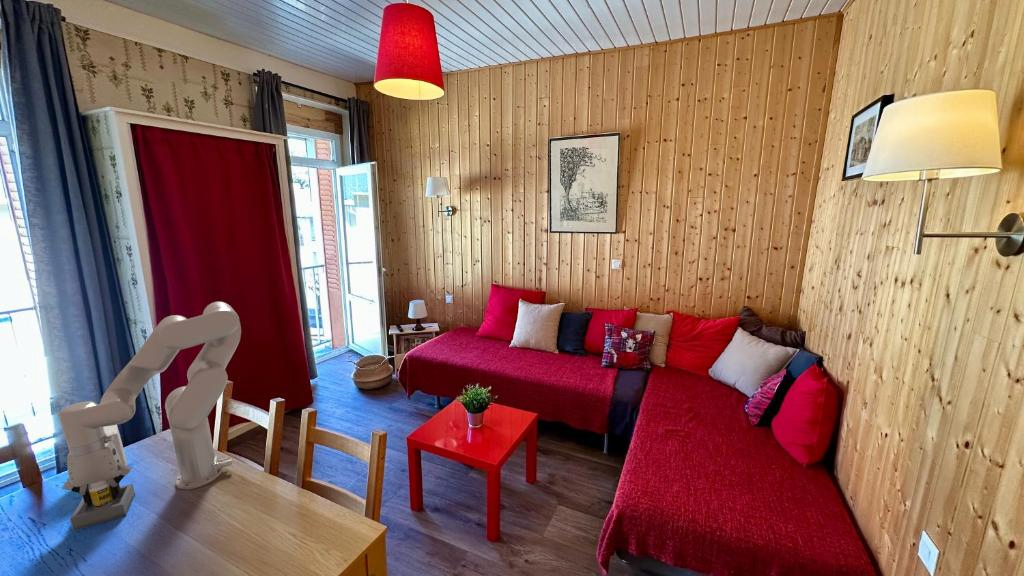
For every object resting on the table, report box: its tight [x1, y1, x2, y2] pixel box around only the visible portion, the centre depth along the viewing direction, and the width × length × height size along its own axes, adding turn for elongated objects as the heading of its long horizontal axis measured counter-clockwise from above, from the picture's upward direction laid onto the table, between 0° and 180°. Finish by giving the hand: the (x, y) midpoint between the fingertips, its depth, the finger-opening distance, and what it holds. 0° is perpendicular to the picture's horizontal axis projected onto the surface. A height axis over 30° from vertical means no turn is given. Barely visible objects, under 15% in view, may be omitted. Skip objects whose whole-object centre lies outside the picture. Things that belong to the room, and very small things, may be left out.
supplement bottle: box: [89, 480, 115, 509], centre depth 120 cm, size 5×5×8 cm
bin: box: [69, 483, 136, 532], centre depth 121 cm, size 11×10×4 cm
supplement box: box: [103, 425, 128, 476], centre depth 137 cm, size 9×9×15 cm
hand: (103, 499), depth 121 cm, fingers closed on supplement bottle, 4 cm apart
